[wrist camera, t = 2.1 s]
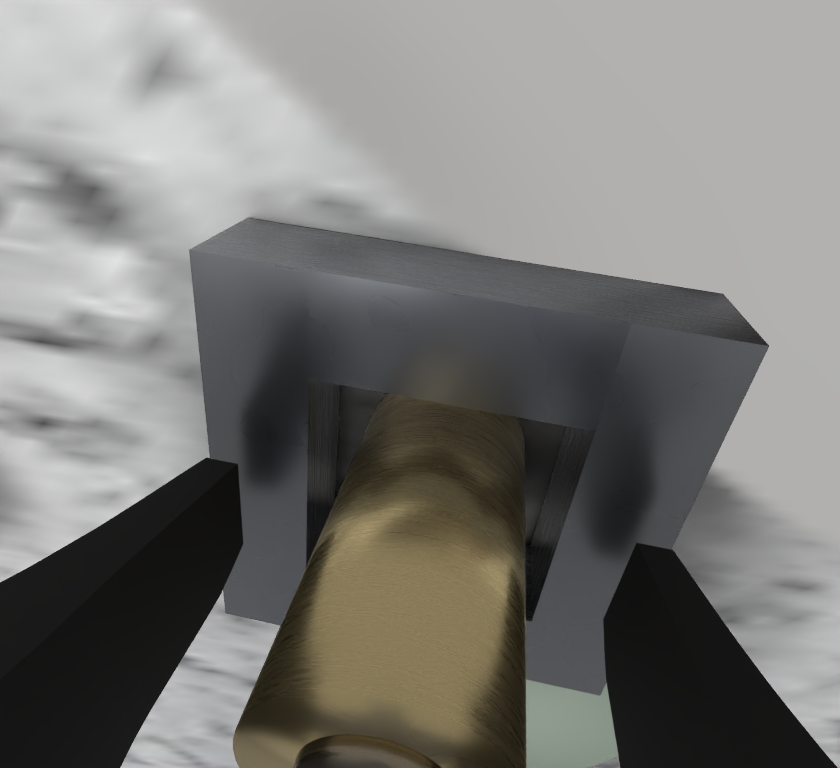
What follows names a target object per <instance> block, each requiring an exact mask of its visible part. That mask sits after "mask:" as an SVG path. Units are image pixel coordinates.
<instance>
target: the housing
mask: <svg viewBox="0 0 840 768" xmlns="http://www.w3.org/2000/svg"><path fill="white" fill-rule="evenodd" d="M189 252H190V262H191V272H192V282H193V292H194V302H195V312H196V322H197V332H198V342H199V352H200V362H201V372H202V382H203V392H204V402H205V412H206V422H207V432H208V442H209V452H210V458H211V459H216V460H221V461H226V462H231V463H236V464H238V472H239V486H240V501H241V516H242V530H243V546H242V548H241V550H240V553H239V555H238V557H237V560H236V562H235V564H234V566H233V569H232V571H231V573H230V575H229V577H228V580H227V582H226V584H225V586H224V588H223V592H224V602H225V612H226V613H227V614H232V615H236V616H241V617H245V618H250V619H254V620H259V621H263V622H268V623H272V624H277V625H281V624H282V622H283V619H284V617H285V615H286V612H287V610H288V608H289V606H290V603H291V601H292V599H293V596H294V594H295V592H296V589H297V587H298V585H299V582H300V580H301V578H302V576H303V573H304V571H305V569H306V566H307V564H308V562H309V559H310V557H311V555H312V553H313V550H314V548H315V546H316V543H317V541H318V539H319V536H320V534H321V532H322V530H323V527H324V525H325V523H326V520H327V518H328V516H329V513H330V511H331V509H332V506H333V504H334V502H335V494H336V472H337V451H338V429H339V408H340V387H341V385H343V386H349V387H354V388H360V389H365V390H371V391H376V392H381V393H387V394H392V395H398V396H403V397H409V398H414V399H420V400H425V401H431V402H436V403H442V404H447V405H453V406H458V407H464V408H469V409H475V410H480V411H486V412H491V413H496V414H502V415H507V416H513V417H518V418H524V419H529V420H535V421H540V422H546V423H551V424H557V425H562V426H566V429H565V433H564V436H563V439H562V443H561V446H560V449H559V453H558V456H557V459H556V463H555V466H554V469H553V473H552V476H551V479H550V483H549V486H548V489H547V492H546V496H545V499H544V502H543V506H542V509H541V512H540V516H539V519H538V522H537V526H536V529H535V532H534V536H533V539H532V542H531V546H530V545H525V585H526V680H531V681H535V682H540V683H544V684H549V685H553V686H558V687H562V688H567V689H571V690H576V691H580V692H585V693H589V694H594V695H598V696H600V695H601V693H602V691H603V689H604V687H605V685H606V683H607V682H606V670H605V653H604V627H603V618H604V616H605V614H606V612H607V609H608V607H609V605H610V602H611V600H612V598H613V595H614V593H615V591H616V589H617V586H618V584H619V582H620V579H621V577H622V575H623V572H624V570H625V568H626V566H627V563H628V561H629V559H630V556H631V554H632V552H633V549H634V547H635V545H636V543H641V544H646V545H651V546H656V547H661V548H666V549H671V548H672V546H673V544H674V542H675V540H676V538H677V536H678V534H679V532H680V530H681V528H682V525H683V523H684V521H685V519H686V517H687V515H688V513H689V511H690V509H691V507H692V505H693V503H694V501H695V499H696V496H697V494H698V492H699V490H700V488H701V486H702V484H703V482H704V480H705V478H706V476H707V474H708V472H709V470H710V467H711V465H712V463H713V461H714V459H715V457H716V455H717V453H718V451H719V449H720V447H721V445H722V443H723V441H724V438H725V436H726V434H727V432H728V430H729V428H730V426H731V424H732V422H733V420H734V418H735V415H736V414H737V412H738V409H739V407H740V405H741V403H742V401H743V399H744V397H745V395H746V393H747V391H748V389H749V387H750V385H751V383H752V381H753V378H754V376H755V374H756V372H757V370H758V368H759V366H760V364H761V362H762V360H763V358H764V356H765V353H766V352H767V349H768V347H769V345H768V344H767V343H766V342H765V341H764V340H763V339H762V337H761V336H760V335H759V334H758V333H757V332H756V331H755V330H754V329H753V328H752V326H751V325H750V324H749V323H748V322H747V320H746V319H745V318H744V317H743V316H742V315H741V314H740V313H739V311H738V310H737V309H736V308H735V307H734V306H733V305H732V304H731V302H729V300H728V299H727V298H726V297H725V296H724V294H720V293H714V292H708V291H702V290H695V289H688V288H683V287H676V286H670V285H664V284H658V283H651V282H645V281H639V280H633V279H626V278H620V277H613V276H607V275H601V274H595V273H589V272H583V271H576V270H570V269H564V268H557V267H551V266H545V265H538V264H532V263H526V262H520V261H513V260H507V259H501V258H495V257H489V256H482V255H476V254H470V253H464V252H457V251H451V250H445V249H438V248H432V247H426V246H420V245H413V244H407V243H401V242H395V241H388V240H382V239H376V238H370V237H363V236H357V235H351V234H344V233H338V232H332V231H326V230H319V229H313V228H307V227H301V226H294V225H288V224H282V223H276V222H269V221H263V220H257V219H250V218H247V219H245V220H243V221H241V222H239V223H238V224H236V225H234V226H232V227H230V228H228V229H227V230H225V231H223V232H221V233H219V234H217V235H216V236H214V237H212V238H210V239H208V240H206V241H205V242H203V243H201V244H199V245H197V246H195V247H194V248H192V249H190V250H189Z"/></svg>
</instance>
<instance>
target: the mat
mask: <svg viewBox="0 0 840 768" xmlns="http://www.w3.org/2000/svg"><path fill="white" fill-rule="evenodd" d="M617 756H619V755H618V749H617V744H616V738H615V732H614V726H613V719H612V713H611V707H610V701H609V695H608V688H607V683H606V685H605V687H604V689H603V691H602V693H601V695H600V696H598V695H594V694H589V693H585V692H580V691H576V690H571V689H567V688H562V687H558V686H553V685H549V684H544V683H540V682H535V681H531V680H526V768H588V767H592V766H596V765H599V764H602V763H604V762H607V761H609V760H611V759H613V758H615V757H617Z"/></svg>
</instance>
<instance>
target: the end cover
mask: <svg viewBox="0 0 840 768" xmlns="http://www.w3.org/2000/svg"><path fill="white" fill-rule="evenodd" d="M233 750H234V754H235V759H236V761H237V763H238V766H239V768H526V585H525V442H524V435H523V432H522V429H521V426H520V423H519V421H518V419H517V417H513V416H507V415H502V414H496V413H491V412H486V411H480V410H475V409H469V408H464V407H458V406H453V405H447V404H442V403H436V402H431V401H425V400H420V399H414V398H409V397H403V396H398V395H392V394H387V395H386V396H385V397H384V398H383V399H382V400H381V402H380V403H379V404H378V406H377V407H376V409H375V411H374V413H373V414H372V417H371V419H370V421H369V424H368V426H367V428H366V430H365V433H364V435H363V437H362V440H361V442H360V444H359V447H358V449H357V451H356V454H355V456H354V458H353V460H352V463H351V465H350V467H349V470H348V472H347V474H346V477H345V479H344V481H343V483H342V486H341V488H340V490H339V493H338V495H337V497H336V500H335V502H334V504H333V506H332V509H331V511H330V513H329V516H328V518H327V520H326V523H325V525H324V527H323V530H322V532H321V534H320V536H319V539H318V541H317V543H316V546H315V548H314V550H313V553H312V555H311V557H310V559H309V562H308V564H307V566H306V569H305V571H304V573H303V576H302V578H301V580H300V582H299V585H298V587H297V589H296V592H295V594H294V596H293V599H292V601H291V603H290V606H289V608H288V610H287V612H286V615H285V617H284V619H283V622H282V624H281V626H280V629H279V631H278V633H277V635H276V638H275V640H274V642H273V645H272V647H271V649H270V652H269V654H268V656H267V658H266V661H265V663H264V665H263V668H262V670H261V672H260V675H259V677H258V679H257V682H256V684H255V686H254V688H253V691H252V693H251V695H250V698H249V700H248V702H247V705H246V707H245V709H244V711H243V714H242V716H241V718H240V721H239V723H238V725H237V728H236V730H235V734H234V738H233Z"/></svg>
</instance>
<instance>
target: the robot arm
mask: <svg viewBox="0 0 840 768" xmlns="http://www.w3.org/2000/svg"><path fill="white" fill-rule="evenodd" d="M242 546H243V530H242V516H241V501H240V486H239V472H238V464H236V463H231V462H226V461H221V460H216V459H211V458H205V459H204V460H202V461H200V462H199V463H197V464H196V465H194V466H192V467H191V468H189V469H188V470H186V471H185V472H183V473H182V474H180V475H179V476H177V477H176V478H174V479H173V480H171V481H169V482H168V483H166V484H165V485H163V486H162V487H160V488H159V489H157V490H156V491H154V492H153V493H151V494H150V495H148V496H146V497H145V498H143V499H142V500H140V501H139V502H137V503H136V504H134V505H132V506H131V507H129V508H128V509H126V510H125V511H123V512H121V513H120V514H118V515H117V516H115V517H113V518H112V519H110V520H109V521H107V522H106V523H104V524H102V525H101V526H99V527H98V528H96V529H94V530H93V531H91V532H89V533H87V534H86V535H84V536H82V537H80V538H79V539H77V540H75V541H74V542H72V543H70V544H68V545H67V546H65V547H63V548H62V549H60V550H58V551H56V552H55V553H53V554H51V555H50V556H48V557H46V558H44V559H43V560H41V561H39V562H37V563H36V564H34V565H32V566H30V567H29V568H27V569H25V570H23V571H21V572H19V573H17V574H16V575H14V576H12V577H10V578H8V579H6V580H4V581H2V582H0V768H120V767H121V765H122V763H123V761H124V759H125V757H126V755H127V753H128V751H129V749H130V747H131V745H132V743H133V741H134V739H135V737H136V735H137V733H138V732H139V730H140V728H141V726H142V725H143V723H144V721H145V719H146V717H147V716H148V714H149V712H150V710H151V709H152V707H153V705H154V704H155V702H156V701H157V699H158V697H159V696H160V694H161V692H162V691H163V689H164V687H165V686H166V684H167V682H168V681H169V679H170V678H171V676H172V674H173V673H174V671H175V669H176V668H177V666H178V664H179V663H180V661H181V659H182V658H183V656H184V655H185V653H186V651H187V650H188V648H189V646H190V645H191V643H192V641H193V640H194V638H195V636H196V635H197V633H198V631H199V630H200V628H201V626H202V625H203V623H204V621H205V620H206V618H207V616H208V615H209V613H210V611H211V610H212V608H213V606H214V605H215V603H216V601H217V600H218V598H219V596H220V594H221V592H222V590H223V588H224V586H225V584H226V582H227V580H228V577H229V575H230V573H231V571H232V569H233V566H234V564H235V562H236V560H237V557H238V555H239V553H240V550H241V548H242ZM603 627H604V653H605V670H606V682H607V688H608V695H609V701H610V707H611V713H612V719H613V726H614V732H615V738H616V744H617V749H618V755H619V761H620V767H621V768H837V767H836V765H835V764H834V763H833V762H832V761H831V760H830V758H829V757H828V756H827V755H826V754H825V753H824V751H823V750H822V749H821V748H820V747H819V745H818V744H817V743H816V742H815V740H814V739H813V738H812V737H811V736H810V734H809V733H808V732H807V731H806V729H805V728H804V727H803V726H802V724H801V723H800V722H799V721H798V720H797V718H796V717H795V716H794V715H793V713H792V712H791V711H790V710H789V708H788V707H787V706H786V705H785V704H784V702H783V701H782V700H781V698H780V697H779V696H778V695H777V693H776V692H775V691H774V689H773V688H772V687H771V686H770V684H769V683H768V682H767V680H766V679H765V678H764V676H763V675H762V674H761V672H760V671H759V670H758V668H757V667H756V666H755V665H754V663H753V662H752V660H751V659H750V658H749V656H748V655H747V654H746V652H745V651H744V650H743V648H742V647H741V646H740V644H739V643H738V642H737V640H736V639H735V637H734V636H733V635H732V633H731V632H730V630H729V629H728V628H727V626H726V625H725V624H724V622H723V621H722V619H721V618H720V616H719V615H718V614H717V612H716V611H715V609H714V608H713V607H712V605H711V604H710V602H709V601H708V599H707V598H706V597H705V595H704V594H703V592H702V591H701V589H700V588H699V587H698V585H697V584H696V582H695V581H694V579H693V578H692V577H691V575H690V574H689V572H688V571H687V569H686V568H685V566H684V565H683V564H682V562H681V561H680V559H679V558H678V557H677V555H676V554H675V552H674V551H673V550H671V549H666V548H661V547H656V546H651V545H646V544H641V543H636V545H635V547H634V549H633V552H632V554H631V556H630V559H629V561H628V563H627V566H626V568H625V570H624V572H623V575H622V577H621V579H620V582H619V584H618V586H617V589H616V591H615V593H614V595H613V598H612V600H611V602H610V605H609V607H608V609H607V612H606V614H605V616H604V618H603Z"/></svg>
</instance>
